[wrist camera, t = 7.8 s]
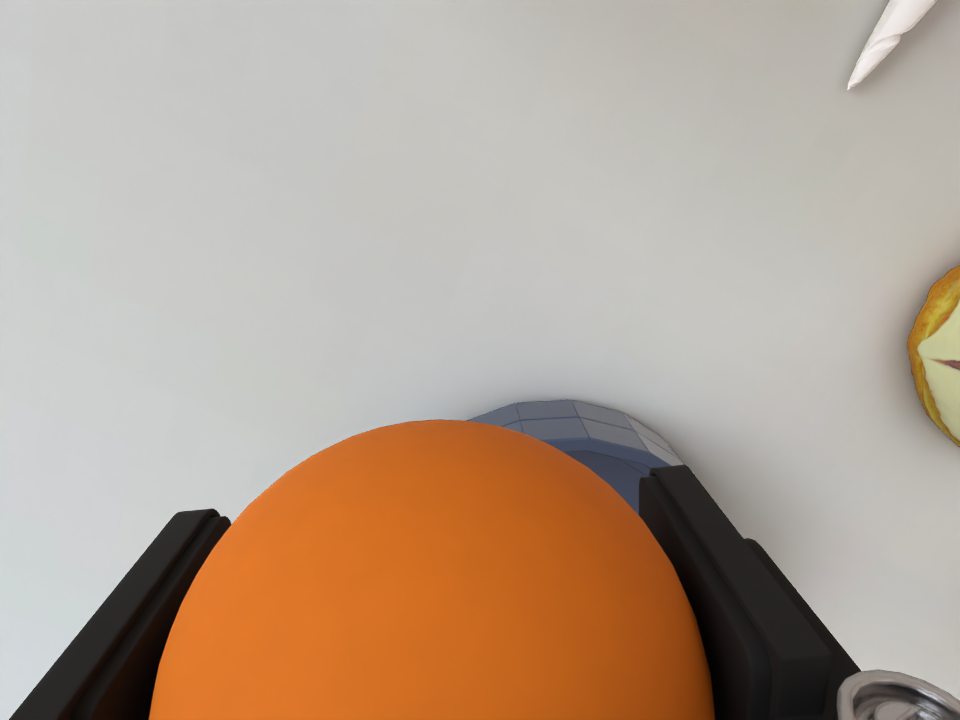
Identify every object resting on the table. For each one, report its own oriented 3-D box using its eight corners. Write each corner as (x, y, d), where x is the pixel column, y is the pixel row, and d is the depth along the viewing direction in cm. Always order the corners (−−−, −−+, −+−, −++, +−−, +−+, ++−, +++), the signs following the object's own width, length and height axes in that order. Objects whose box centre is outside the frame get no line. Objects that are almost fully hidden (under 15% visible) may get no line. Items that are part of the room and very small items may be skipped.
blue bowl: (358, 633, 31) (340, 712, 26) (429, 360, 26) (422, 397, 22) (635, 687, 33) (664, 769, 28) (746, 438, 28) (802, 488, 24)
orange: (243, 621, 12) (-82, 1318, 5) (298, 307, 10) (-135, 702, 3) (558, 678, 12) (689, 1337, 5) (671, 399, 10) (1122, 887, 3)
